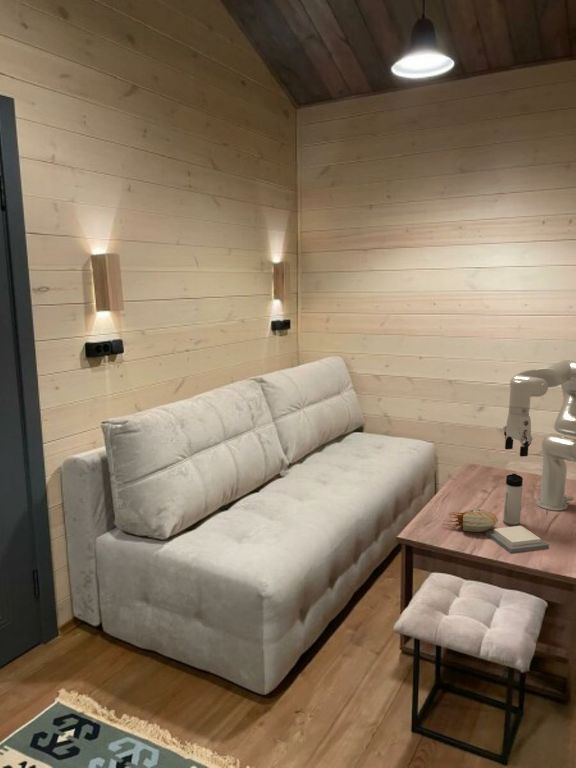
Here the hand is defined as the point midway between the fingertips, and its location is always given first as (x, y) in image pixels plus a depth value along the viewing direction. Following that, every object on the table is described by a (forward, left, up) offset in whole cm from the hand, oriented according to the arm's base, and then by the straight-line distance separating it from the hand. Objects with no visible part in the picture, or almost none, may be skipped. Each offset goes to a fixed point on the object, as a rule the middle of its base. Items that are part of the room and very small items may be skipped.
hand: (516, 452), depth 232 cm
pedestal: (+8, +15, -30) cm, 34 cm away
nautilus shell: (+19, +1, -30) cm, 36 cm away
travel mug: (0, 0, -30) cm, 30 cm away
